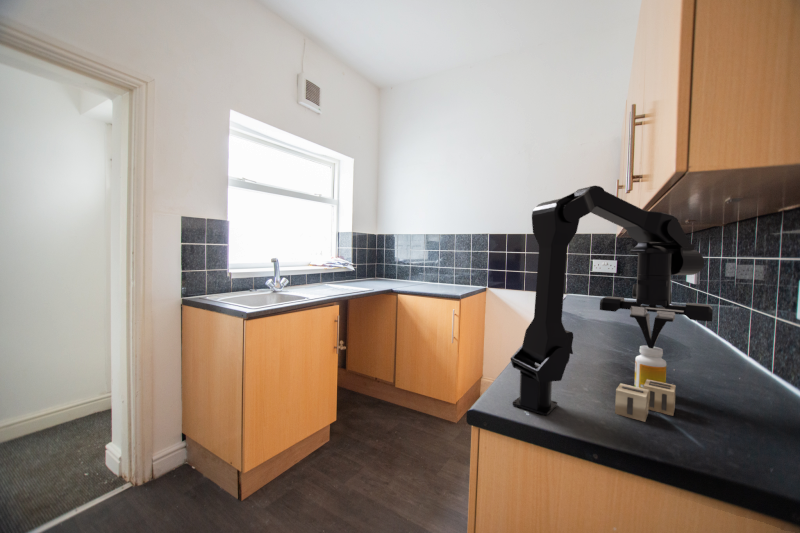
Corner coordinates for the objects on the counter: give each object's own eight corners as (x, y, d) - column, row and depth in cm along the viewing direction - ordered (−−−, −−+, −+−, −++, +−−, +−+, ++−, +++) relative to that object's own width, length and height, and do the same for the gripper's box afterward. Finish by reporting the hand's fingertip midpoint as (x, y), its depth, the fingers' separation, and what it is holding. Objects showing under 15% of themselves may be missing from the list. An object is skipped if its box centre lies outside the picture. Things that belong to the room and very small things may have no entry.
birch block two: (673, 416, 61) (674, 391, 61) (642, 408, 64) (643, 385, 64) (674, 408, 64) (675, 384, 64) (646, 401, 67) (646, 378, 67)
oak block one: (644, 422, 59) (645, 396, 58) (614, 414, 62) (615, 389, 61) (648, 413, 62) (649, 389, 62) (619, 406, 65) (620, 382, 65)
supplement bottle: (672, 398, 69) (674, 351, 69) (645, 397, 69) (647, 351, 69) (652, 387, 74) (654, 344, 74) (628, 387, 74) (630, 344, 74)
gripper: (713, 276, 71) (709, 349, 71) (610, 272, 83) (608, 334, 84) (714, 278, 62) (710, 360, 63) (600, 273, 75) (597, 342, 75)
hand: (650, 347), depth 71 cm, fingers closed, pressing on supplement bottle
